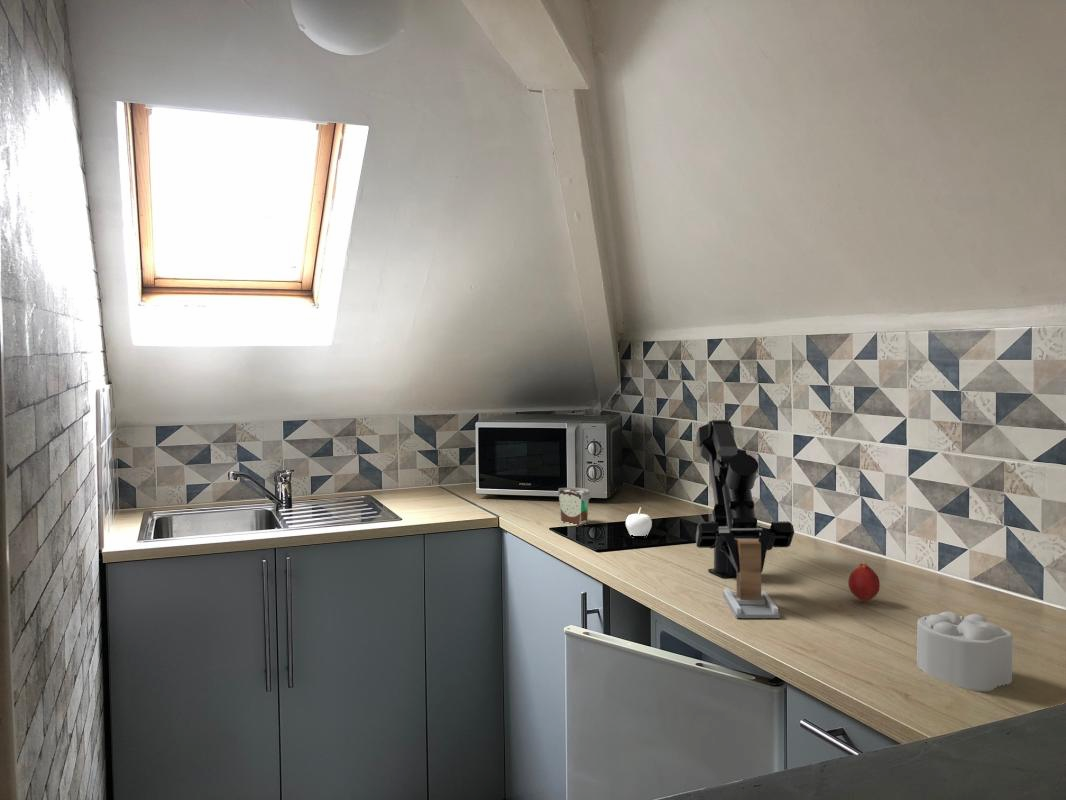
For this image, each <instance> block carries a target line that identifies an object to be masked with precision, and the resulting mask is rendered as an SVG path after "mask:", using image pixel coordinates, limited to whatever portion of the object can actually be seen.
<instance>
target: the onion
mask: <svg viewBox="0 0 1066 800" xmlns="http://www.w3.org/2000/svg"><path fill="white" fill-rule="evenodd" d="M847 583H848V588H849V591H850V592H851V593H852V594H853V596H855V597H856V598H857V600H859V601H860V602H861V603H867V602H870V600H872V599H873V598H874V597H876V596H877V595H878V594H879V591H880V586H881V583H880V579H879V576H878V574H877V573H876V572H875V571H874V570H873V569H872V568H871V567H870V566H869V565H868V564H867V563H866V562H863V561H862V562H861V563H860V564H859V566H858V567H857V568H855V569H854V570H852V572H851V573H850V575H849V578H848V582H847Z"/></svg>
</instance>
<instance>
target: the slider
mask: <svg viewBox="0 0 1066 800" xmlns="http://www.w3.org/2000/svg"><path fill="white" fill-rule="evenodd" d="M723 590H724V591H722V597H723V599H724V601H725V602H726V604H727V603H728V604H727V605H728V607H729V609H730V608H731V609H730V610H731V612H732V611H733V612H732V614H733V613H734V614H733V616H734V615H735V616H736V617H735V616H734V617H735V618H780V619H781V614H780V613H779V607H778V606H777V605H776V604H775V602H774V601H773V600H772V599H771V597H770V596H769V595H768V594H767V592H766V591H765V590H764V589H763V587H761V595H762V596H763V598H764V599H765V601H766V605H739V604H738V603H737V601H736V599H735V598H734V596H733V593H737V591H731V590H730V588H729V587H724V588H723Z"/></svg>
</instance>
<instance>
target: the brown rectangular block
mask: <svg viewBox="0 0 1066 800" xmlns="http://www.w3.org/2000/svg"><path fill="white" fill-rule="evenodd" d="M736 549H737V553H738V558H739V564H740V572H739V573H738V572H737V576H736V592H737V593H733V596H734V598H735V599H736V601H737V603H738V604H739V605H766V601H765V599H764V598H763V596H762V595H761V588H762V572H761V543H760V542H759V541H758V539H736Z"/></svg>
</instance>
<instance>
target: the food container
mask: <svg viewBox="0 0 1066 800" xmlns="http://www.w3.org/2000/svg"><path fill="white" fill-rule="evenodd" d="M557 496H558V500H559V501H558V502H559V513H560V522H561V521H563V522H569V523H573V524H577V525H585V524H587V525H588V518H589V517H588V515H589V501H590V499H592V497H591V496H592V495H591V492H590V490H589V489H587V488H584V487H583V488H582V487H559V488H558V491H557ZM563 522H562V523H563Z"/></svg>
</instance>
